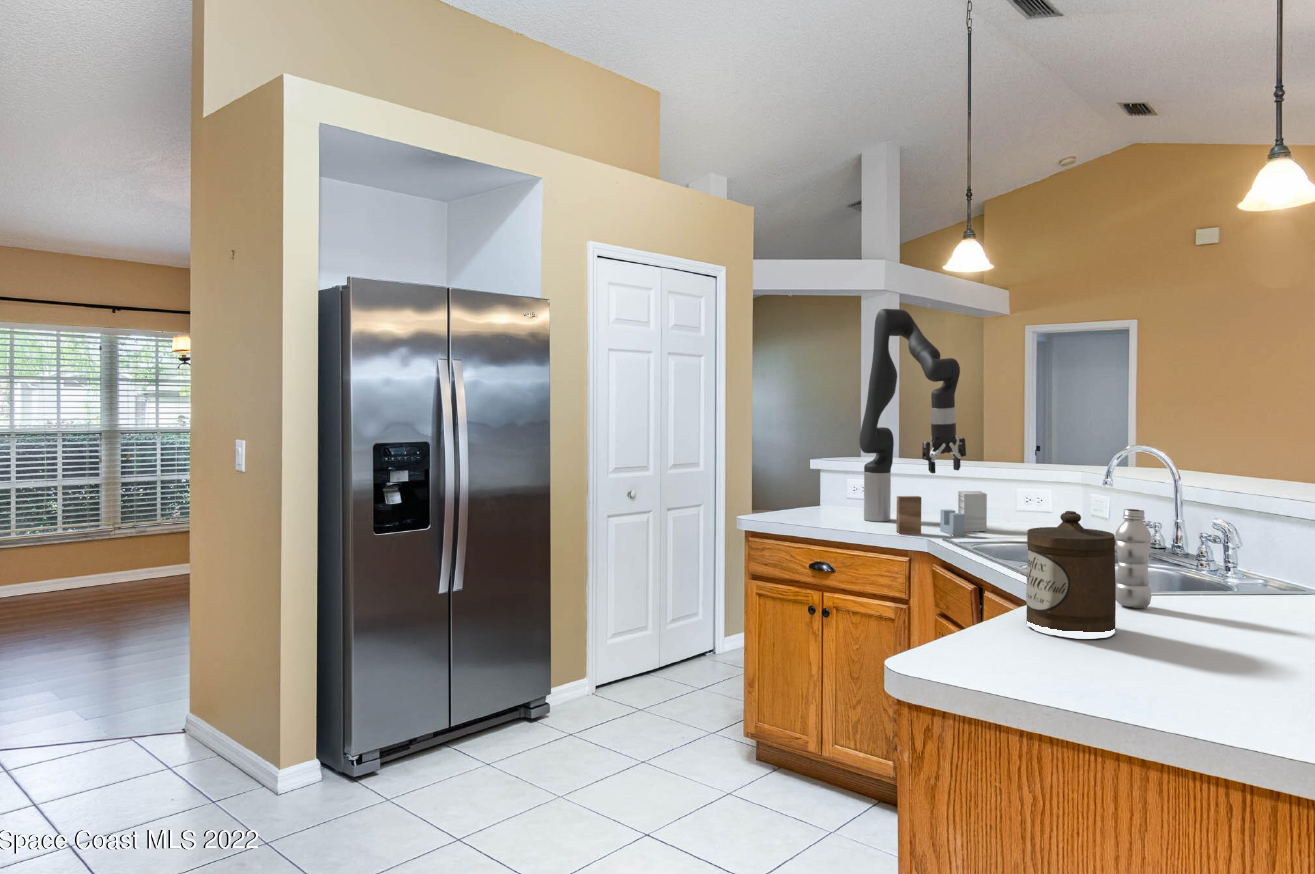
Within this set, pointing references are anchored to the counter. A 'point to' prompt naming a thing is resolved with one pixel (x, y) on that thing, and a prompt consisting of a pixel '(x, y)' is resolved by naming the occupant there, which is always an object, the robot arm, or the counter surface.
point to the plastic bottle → (1133, 560)
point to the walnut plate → (908, 515)
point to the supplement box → (973, 510)
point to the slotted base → (952, 522)
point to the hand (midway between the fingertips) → (944, 471)
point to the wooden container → (1071, 577)
